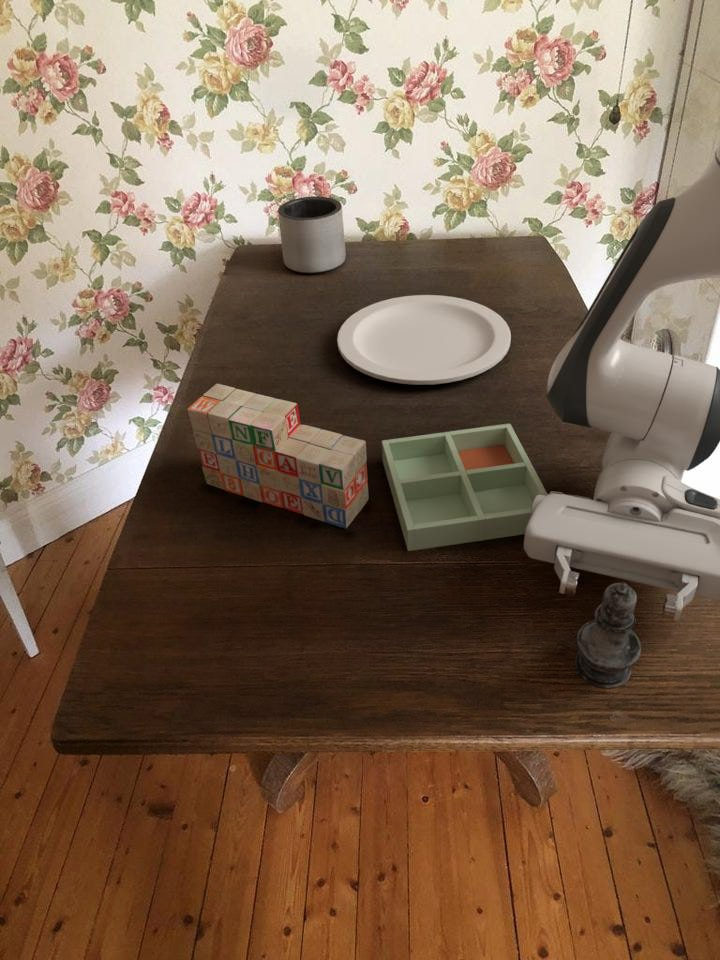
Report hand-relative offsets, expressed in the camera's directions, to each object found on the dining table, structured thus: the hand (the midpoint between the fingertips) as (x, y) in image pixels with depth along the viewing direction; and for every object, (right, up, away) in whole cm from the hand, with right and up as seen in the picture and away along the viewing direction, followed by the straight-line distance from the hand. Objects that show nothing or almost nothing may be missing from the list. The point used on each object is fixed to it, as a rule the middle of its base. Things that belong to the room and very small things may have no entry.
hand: (618, 602), depth 70 cm
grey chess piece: (0, -7, +4) cm, 8 cm away
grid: (-11, +10, +24) cm, 29 cm away
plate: (-14, +33, +53) cm, 64 cm away
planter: (-33, +55, +81) cm, 104 cm away
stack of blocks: (-34, +10, +27) cm, 44 cm away
